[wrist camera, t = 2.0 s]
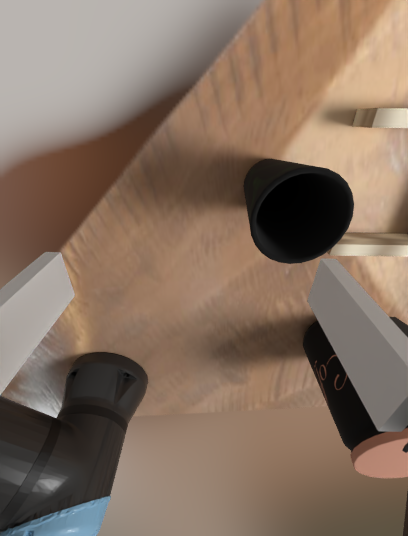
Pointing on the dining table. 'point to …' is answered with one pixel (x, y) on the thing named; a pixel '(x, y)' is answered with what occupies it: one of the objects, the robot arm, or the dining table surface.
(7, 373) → the robot arm
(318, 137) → the dining table surface
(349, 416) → the coffee jar
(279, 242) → the cup
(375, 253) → the bay
